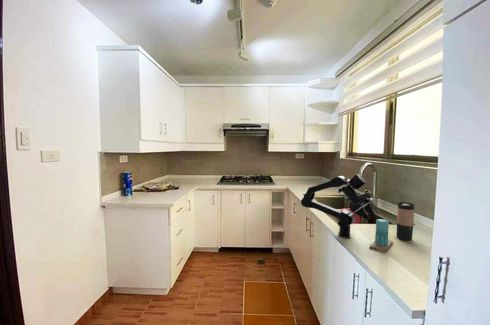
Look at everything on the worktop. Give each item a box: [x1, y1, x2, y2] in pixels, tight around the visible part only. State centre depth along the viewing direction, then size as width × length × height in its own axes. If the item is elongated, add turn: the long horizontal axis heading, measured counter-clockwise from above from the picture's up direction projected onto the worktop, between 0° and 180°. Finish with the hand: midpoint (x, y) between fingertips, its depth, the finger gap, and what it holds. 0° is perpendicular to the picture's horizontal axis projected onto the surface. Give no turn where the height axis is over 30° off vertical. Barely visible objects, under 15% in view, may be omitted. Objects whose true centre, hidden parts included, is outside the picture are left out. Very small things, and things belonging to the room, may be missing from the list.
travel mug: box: [396, 201, 415, 242], centre depth 129 cm, size 8×8×20 cm
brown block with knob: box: [369, 239, 394, 253], centre depth 121 cm, size 7×16×4 cm, turn 136°
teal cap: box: [374, 218, 390, 246], centre depth 120 cm, size 6×6×12 cm
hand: (372, 218), depth 123 cm, fingers open, 9 cm apart
